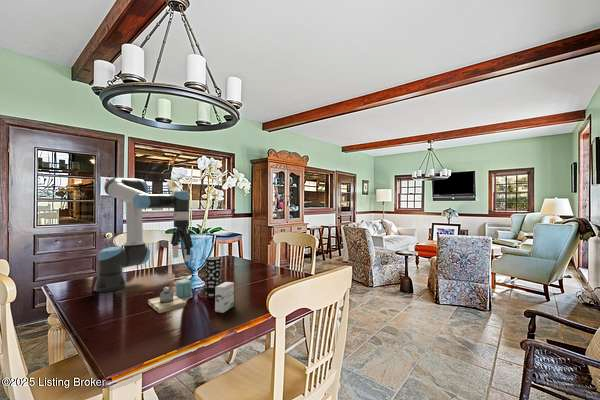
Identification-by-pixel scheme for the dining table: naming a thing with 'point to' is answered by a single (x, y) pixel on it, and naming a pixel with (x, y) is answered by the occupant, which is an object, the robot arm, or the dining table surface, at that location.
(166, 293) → the knobbed metal weight
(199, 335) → the dining table surface
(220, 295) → the ink box
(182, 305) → the board
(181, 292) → the cap
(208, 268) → the white-spotted black cylinder
